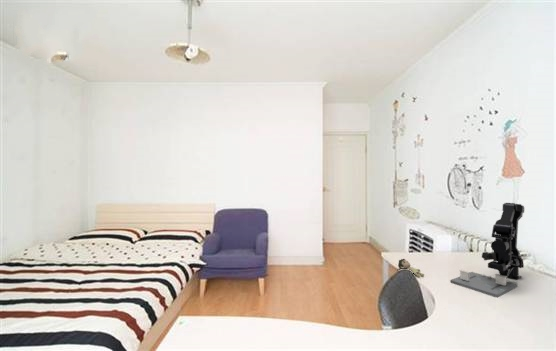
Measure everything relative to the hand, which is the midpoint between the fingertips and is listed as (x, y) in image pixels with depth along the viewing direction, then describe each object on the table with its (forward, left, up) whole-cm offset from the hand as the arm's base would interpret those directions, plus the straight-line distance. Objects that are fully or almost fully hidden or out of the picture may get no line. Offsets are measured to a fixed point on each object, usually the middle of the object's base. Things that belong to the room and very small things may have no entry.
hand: (503, 280), depth 135 cm
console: (+6, -6, -3) cm, 9 cm away
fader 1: (+11, -12, -1) cm, 17 cm away
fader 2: (+3, 0, -1) cm, 3 cm away
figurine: (+22, -35, -3) cm, 41 cm away
